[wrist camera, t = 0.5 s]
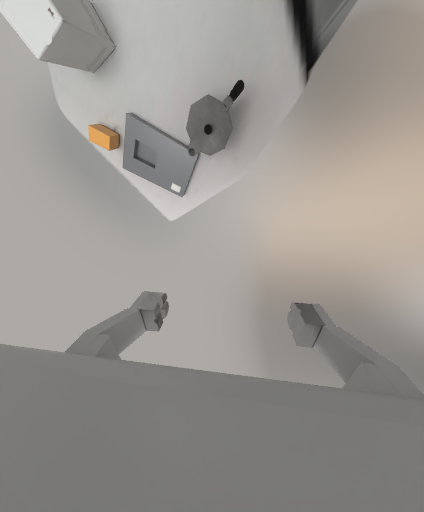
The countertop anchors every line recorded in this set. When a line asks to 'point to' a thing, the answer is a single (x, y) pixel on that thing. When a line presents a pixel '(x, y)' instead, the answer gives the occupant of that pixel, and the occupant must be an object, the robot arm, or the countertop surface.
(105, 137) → the plug
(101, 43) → the skincare box
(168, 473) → the robot arm
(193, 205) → the countertop surface
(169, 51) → the countertop surface
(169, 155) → the socket plate
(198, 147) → the coffeepot
